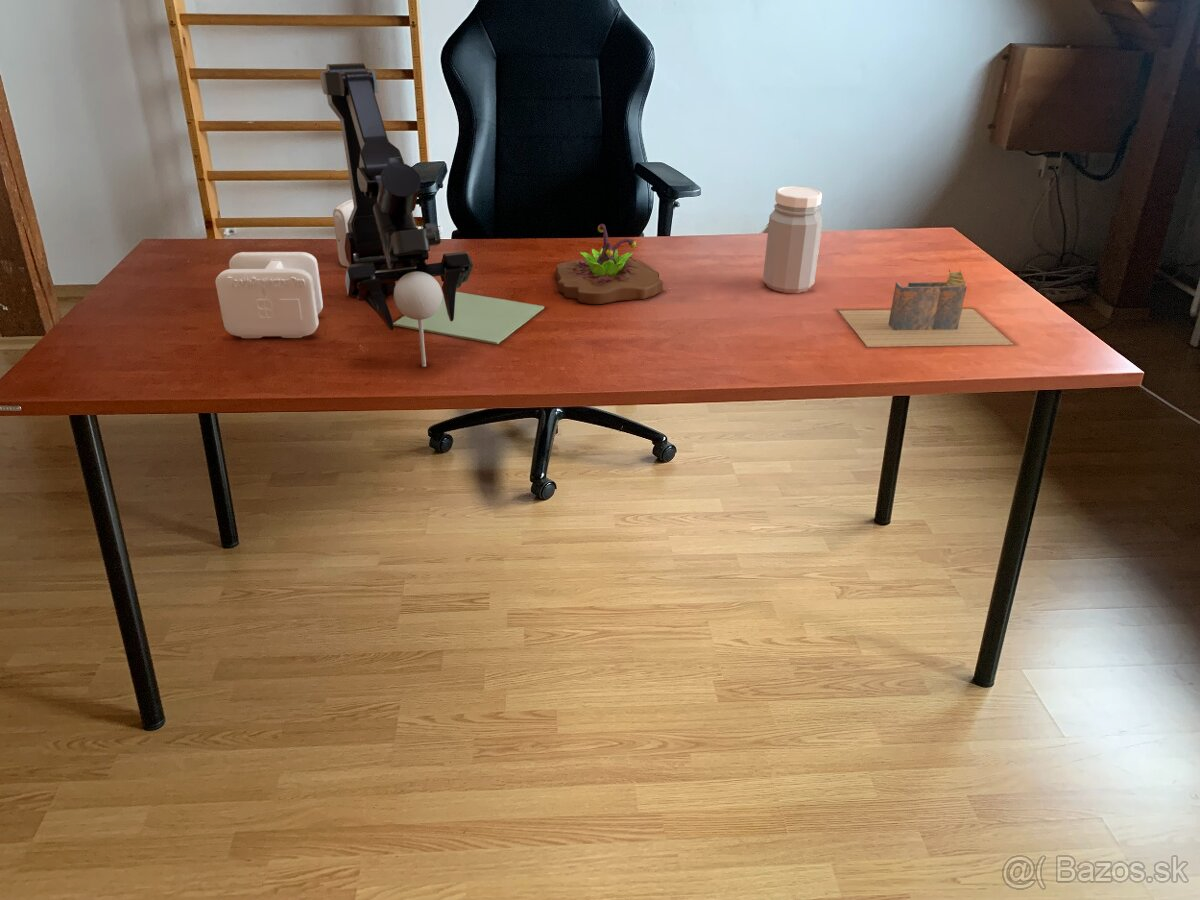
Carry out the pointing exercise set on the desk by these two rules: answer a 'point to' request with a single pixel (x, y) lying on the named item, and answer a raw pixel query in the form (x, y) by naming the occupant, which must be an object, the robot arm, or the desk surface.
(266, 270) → the cable organizer
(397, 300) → the lollipop
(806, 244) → the jar
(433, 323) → the desk mat
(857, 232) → the desk surface
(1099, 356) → the desk surface
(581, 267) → the plant
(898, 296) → the ruin model on sheet
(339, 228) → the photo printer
